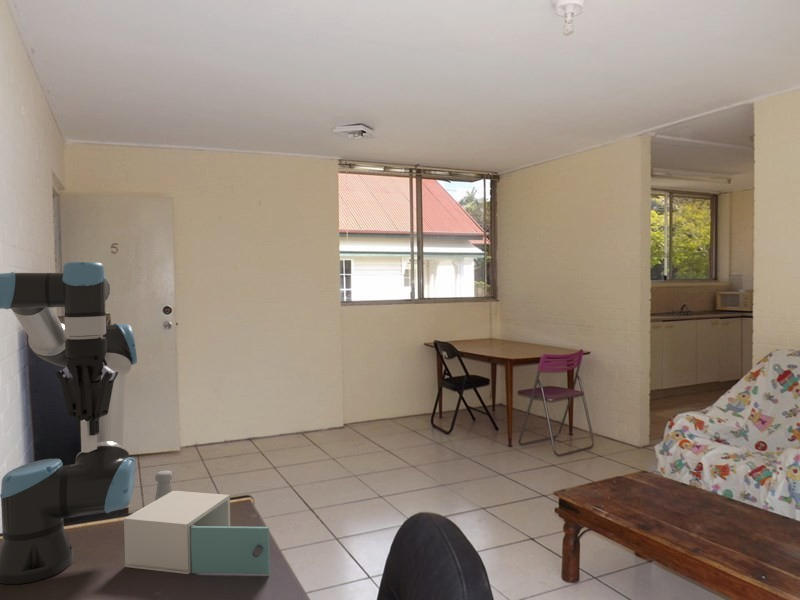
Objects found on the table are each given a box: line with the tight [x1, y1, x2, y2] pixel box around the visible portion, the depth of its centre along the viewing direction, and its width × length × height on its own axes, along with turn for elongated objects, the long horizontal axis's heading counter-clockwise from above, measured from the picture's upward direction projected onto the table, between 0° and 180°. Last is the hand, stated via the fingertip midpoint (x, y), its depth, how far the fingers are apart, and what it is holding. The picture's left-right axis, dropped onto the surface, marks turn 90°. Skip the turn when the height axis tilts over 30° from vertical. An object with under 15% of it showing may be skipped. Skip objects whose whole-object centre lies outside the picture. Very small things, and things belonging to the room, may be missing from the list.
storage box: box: [123, 490, 231, 575], centre depth 137 cm, size 16×18×11 cm
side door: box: [190, 525, 271, 575], centre depth 124 cm, size 4×18×10 cm, turn 87°
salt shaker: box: [154, 470, 173, 501], centre depth 156 cm, size 6×6×13 cm
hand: (89, 450), depth 119 cm, fingers closed
